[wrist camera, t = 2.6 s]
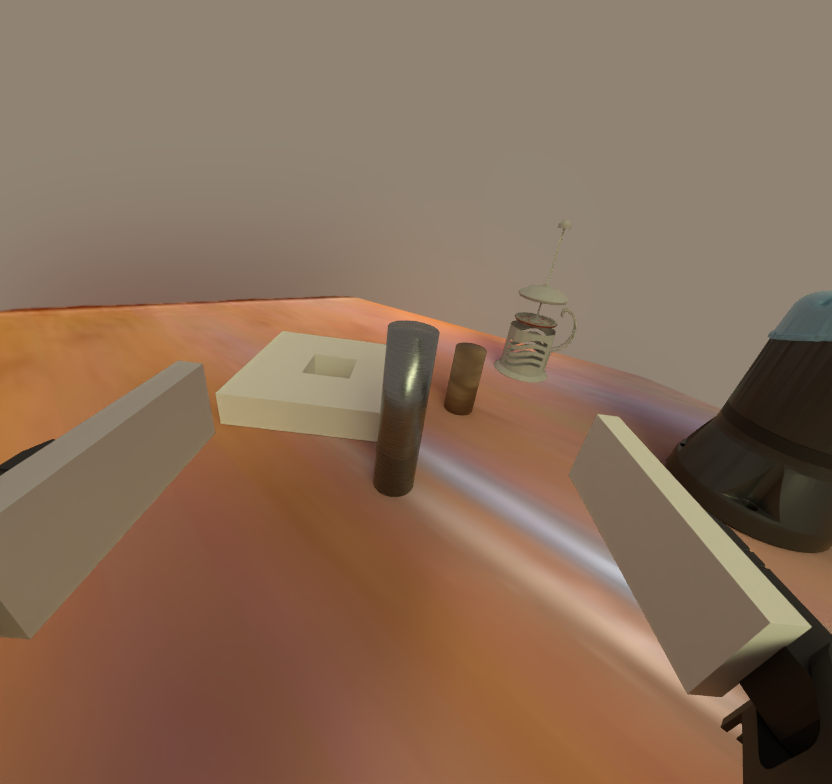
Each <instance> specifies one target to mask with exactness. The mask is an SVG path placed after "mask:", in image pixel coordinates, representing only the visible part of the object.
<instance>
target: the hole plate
mask: <svg viewBox="0 0 832 784" xmlns="http://www.w3.org/2000/svg"><path fill="white" fill-rule="evenodd" d="M385 354H386V344H379V343H371V342H363V341H355V340H348V339H340V338H332V337H325V336H317V335H309V334H302V333H294V332H286V331H282V332H281V333H280V334H279V335H278V336H277V337H276V338H275V339H273V340H272V341H271V342H270V343H269V344H268V345H267V346H266V347H265V348H264V349H263V350H262V351H260V352H259V353H258V354H257V355H256V356H255V357H254V358H253V359H252V360H251V361H250V362H249V363H247V364H246V365H245V366H244V367H243V368H242V369H241V370H240V371H239V372H238V373H237V374H236V375H234V376H233V377H232V378H231V379H230V380H229V381H228V382H227V383H226V384H225V385H224V386H223V387H221V388H220V389H219V390H218V391H217V392H216V399H217V405H218V410H219V416H220V422H221V424H227V425H236V426H244V427H253V428H262V429H270V430H279V431H287V432H296V433H304V434H313V435H322V436H330V437H339V438H347V439H356V440H365V441H373V442H377V438H378V427H379V417H380V406H381V396H382V385H383V375H384V364H385Z"/></svg>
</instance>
